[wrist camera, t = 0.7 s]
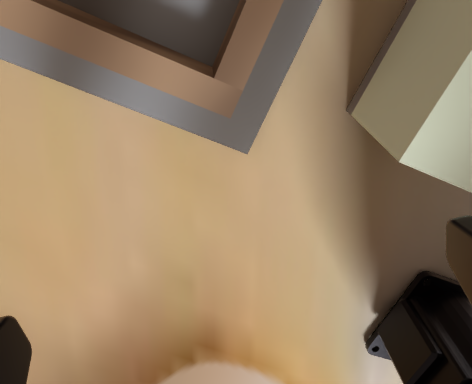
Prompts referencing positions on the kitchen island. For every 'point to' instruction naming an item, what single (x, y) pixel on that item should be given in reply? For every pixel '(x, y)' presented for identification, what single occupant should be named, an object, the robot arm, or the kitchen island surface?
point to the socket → (165, 55)
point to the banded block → (423, 91)
